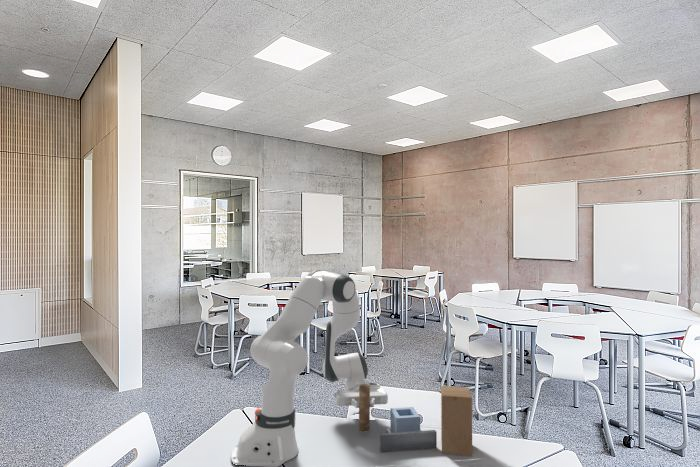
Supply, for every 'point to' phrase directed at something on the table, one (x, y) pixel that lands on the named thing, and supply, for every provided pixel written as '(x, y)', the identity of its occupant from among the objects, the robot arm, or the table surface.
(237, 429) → the table surface
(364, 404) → the dowel
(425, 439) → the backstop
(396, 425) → the blue hollow square block
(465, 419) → the wooden block
